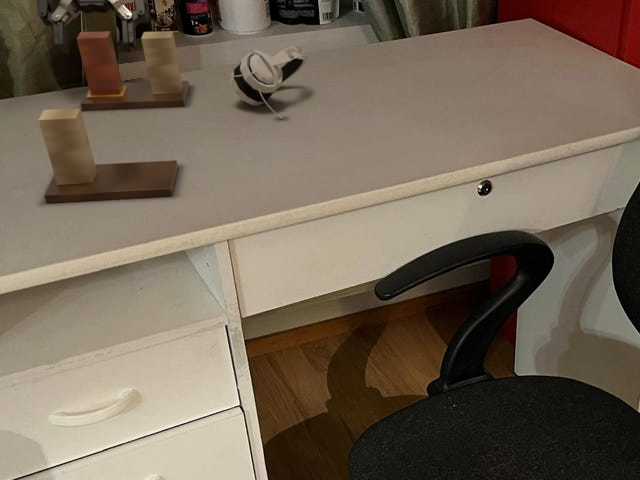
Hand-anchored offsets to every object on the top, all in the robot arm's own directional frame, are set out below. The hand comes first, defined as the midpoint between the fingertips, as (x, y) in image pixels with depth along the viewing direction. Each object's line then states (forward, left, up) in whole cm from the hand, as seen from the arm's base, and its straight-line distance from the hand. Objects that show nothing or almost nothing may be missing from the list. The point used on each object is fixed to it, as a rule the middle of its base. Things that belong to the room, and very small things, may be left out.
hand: (96, 49), depth 121 cm
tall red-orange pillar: (0, +1, -6) cm, 6 cm away
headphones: (+22, -5, -8) cm, 24 cm away
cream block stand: (+5, -28, -7) cm, 30 cm away
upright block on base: (+4, +1, -7) cm, 8 cm away
